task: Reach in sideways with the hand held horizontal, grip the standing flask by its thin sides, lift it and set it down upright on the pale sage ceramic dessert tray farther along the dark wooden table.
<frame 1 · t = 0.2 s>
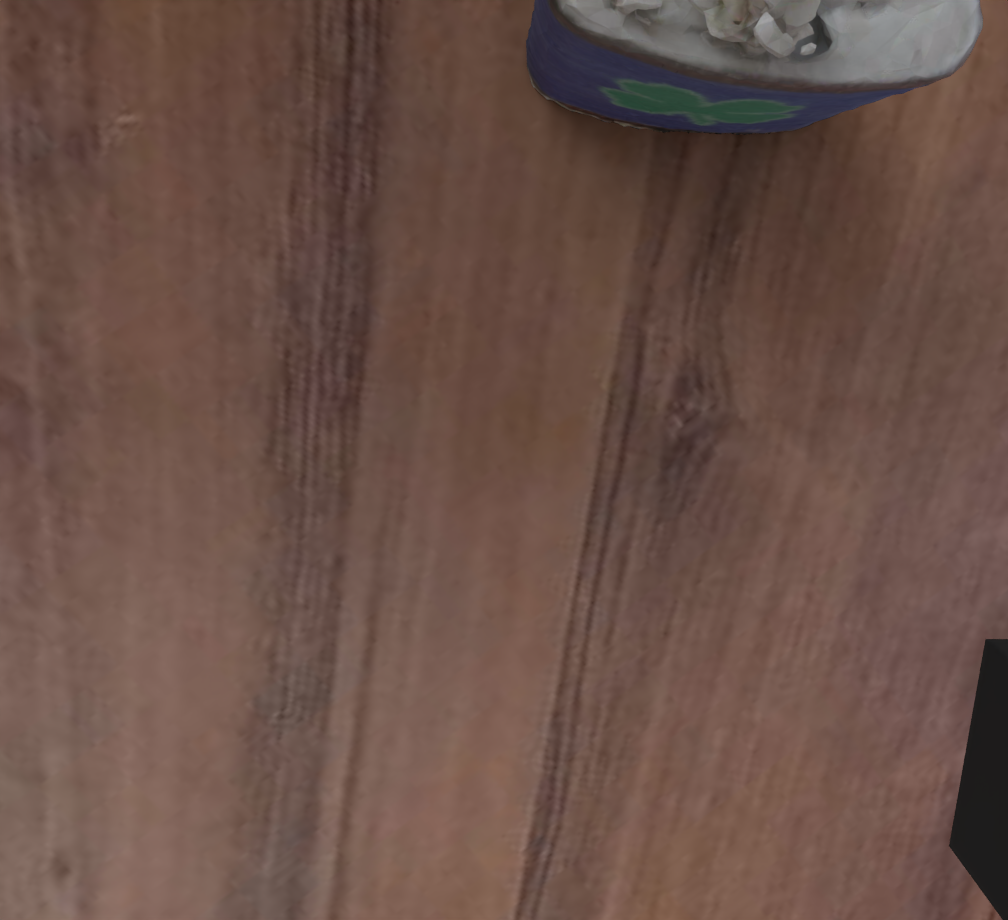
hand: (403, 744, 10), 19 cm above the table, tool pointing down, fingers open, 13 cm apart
flask: (673, 80, 26), on the table
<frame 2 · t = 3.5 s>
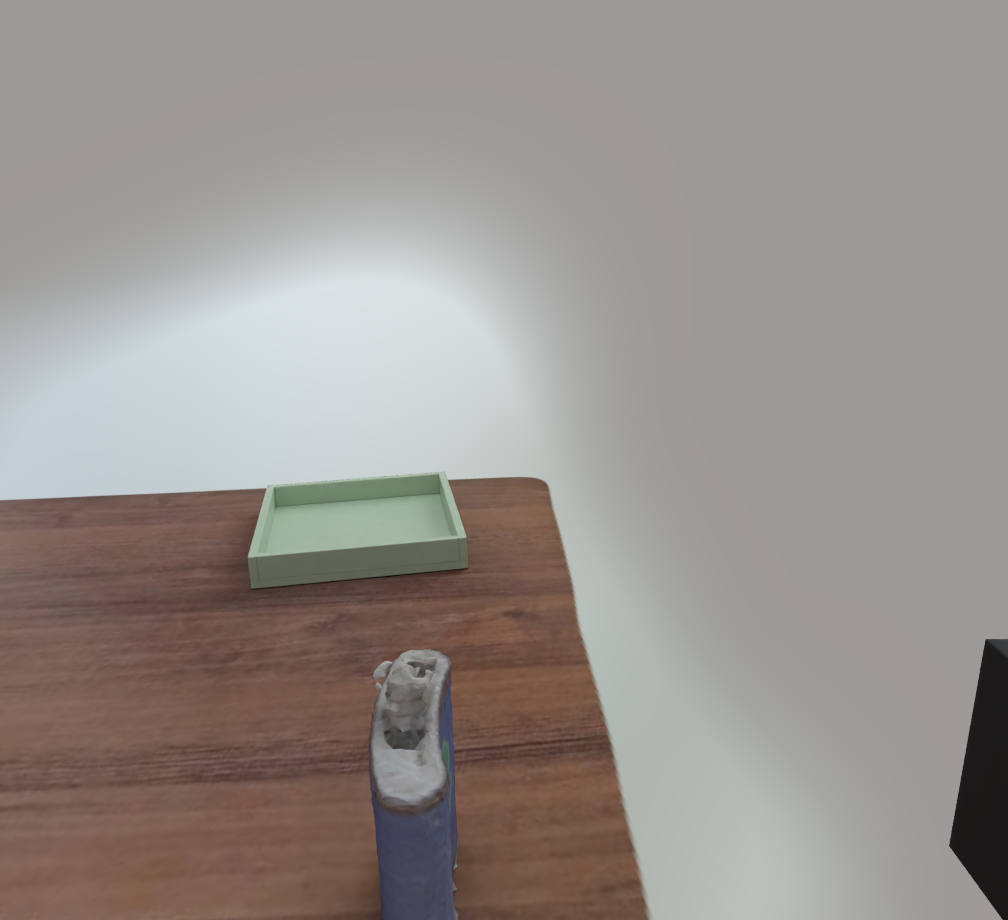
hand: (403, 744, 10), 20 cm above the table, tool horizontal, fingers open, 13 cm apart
flask: (424, 918, 33), on the table
dessert tray: (360, 537, 68), on the table
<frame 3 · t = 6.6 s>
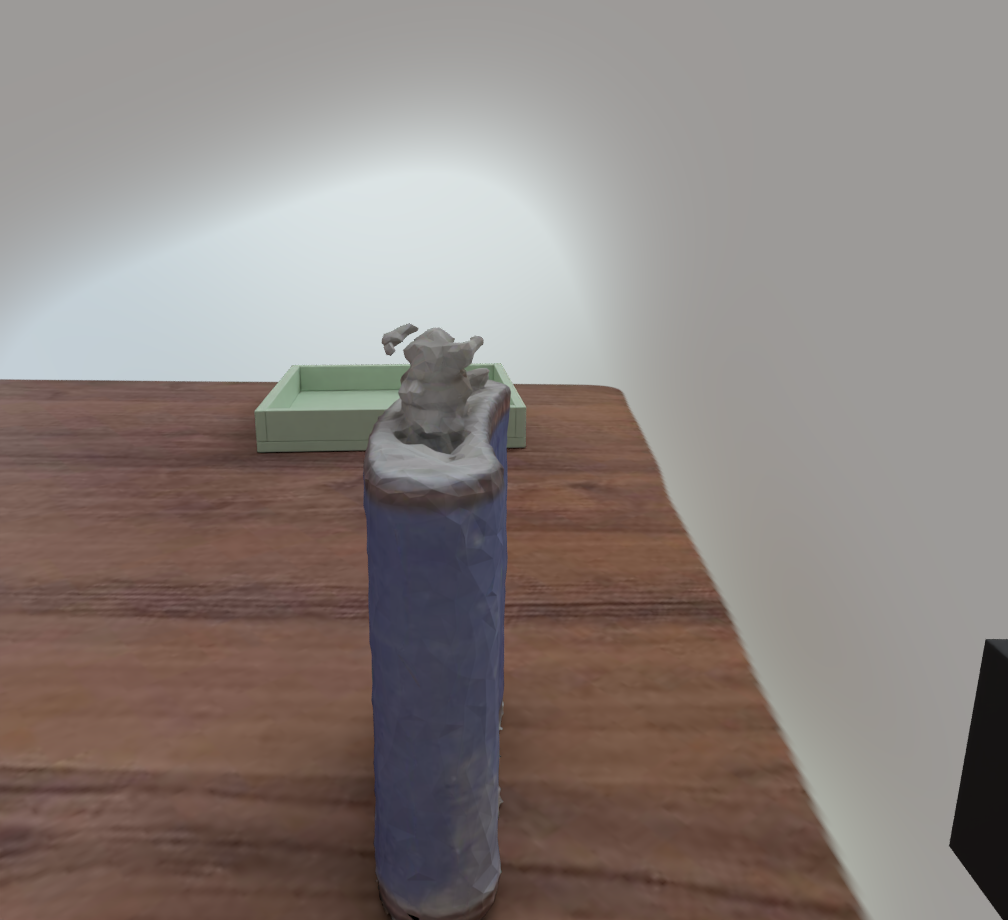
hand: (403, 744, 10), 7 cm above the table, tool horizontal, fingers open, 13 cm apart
flask: (446, 792, 20), on the table
dessert tray: (396, 419, 56), on the table
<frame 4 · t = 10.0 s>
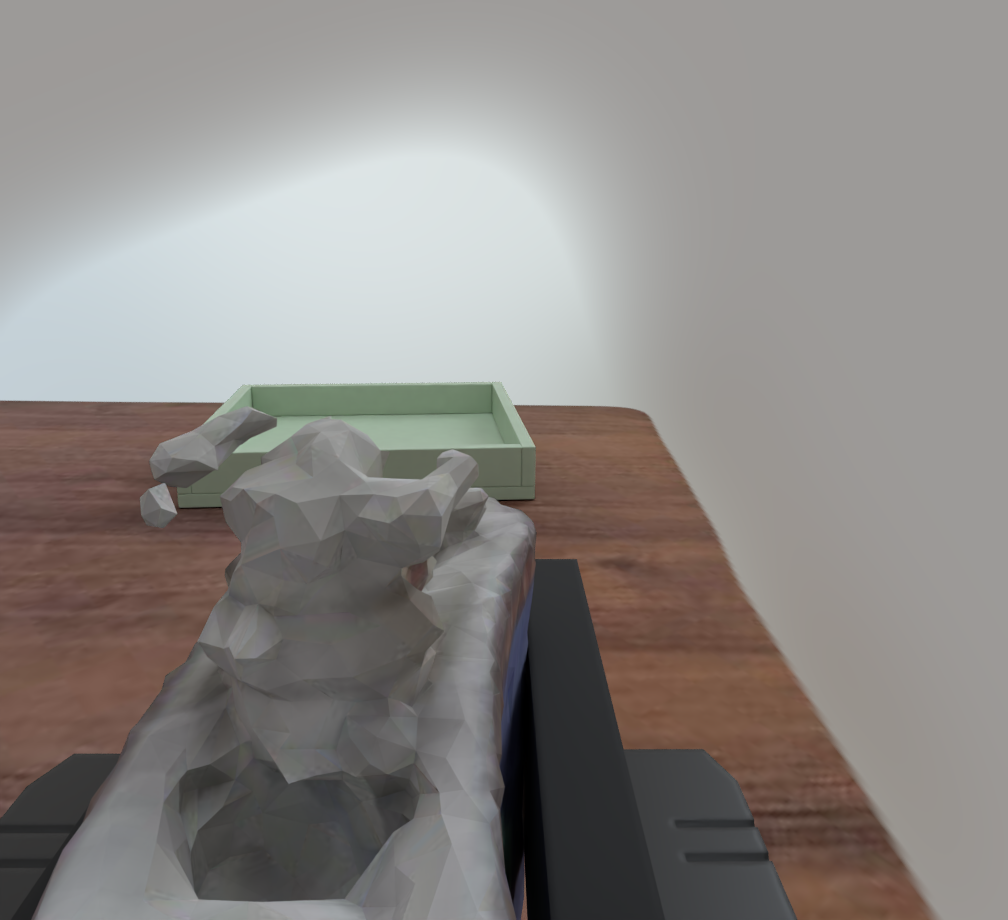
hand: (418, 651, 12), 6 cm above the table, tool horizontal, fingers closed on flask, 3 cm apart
dessert tray: (368, 456, 44), on the table
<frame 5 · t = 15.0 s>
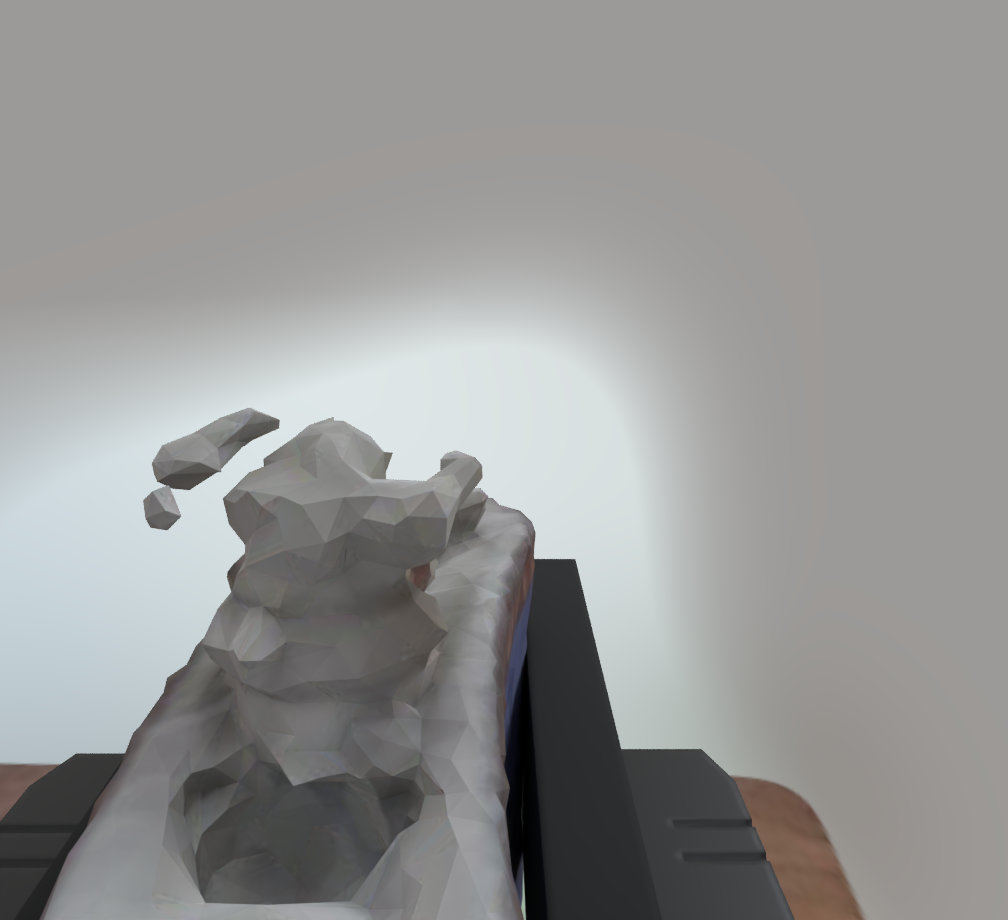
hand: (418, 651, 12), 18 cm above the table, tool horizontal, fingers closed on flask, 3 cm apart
when the fingers open (7 cm above the table, at t = 20.1 s): flask stays where it is, resting on dessert tray.
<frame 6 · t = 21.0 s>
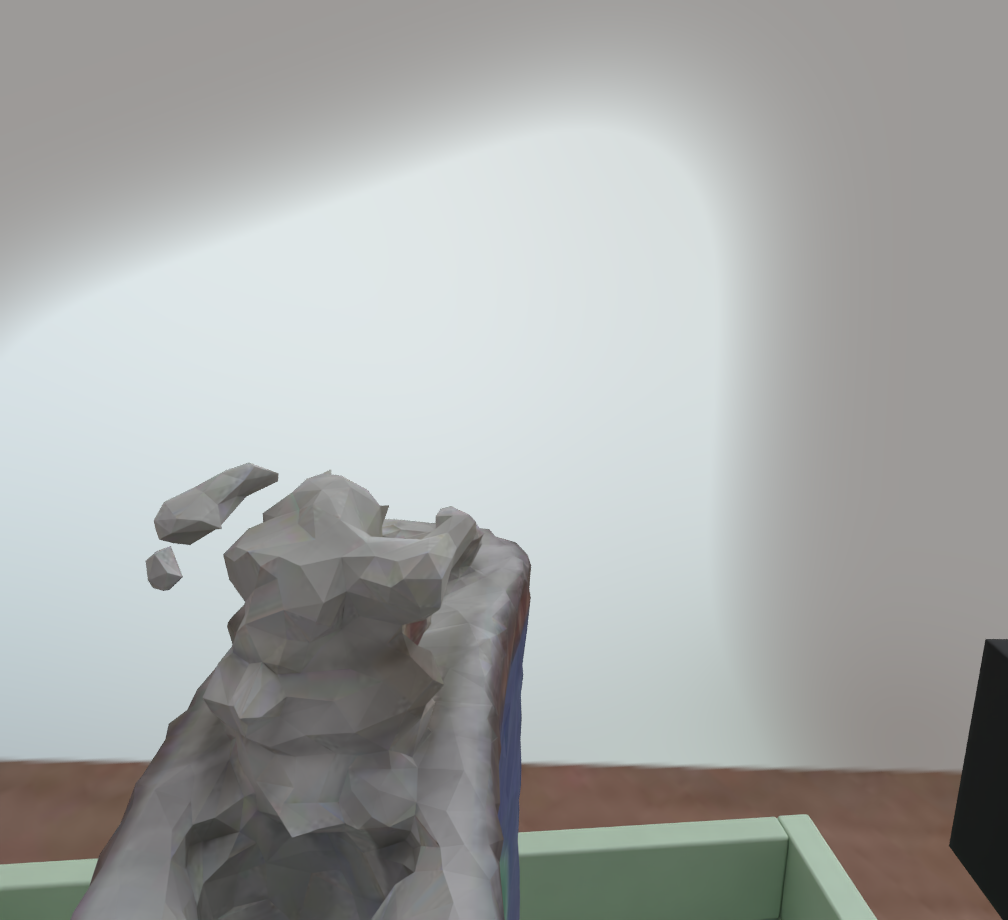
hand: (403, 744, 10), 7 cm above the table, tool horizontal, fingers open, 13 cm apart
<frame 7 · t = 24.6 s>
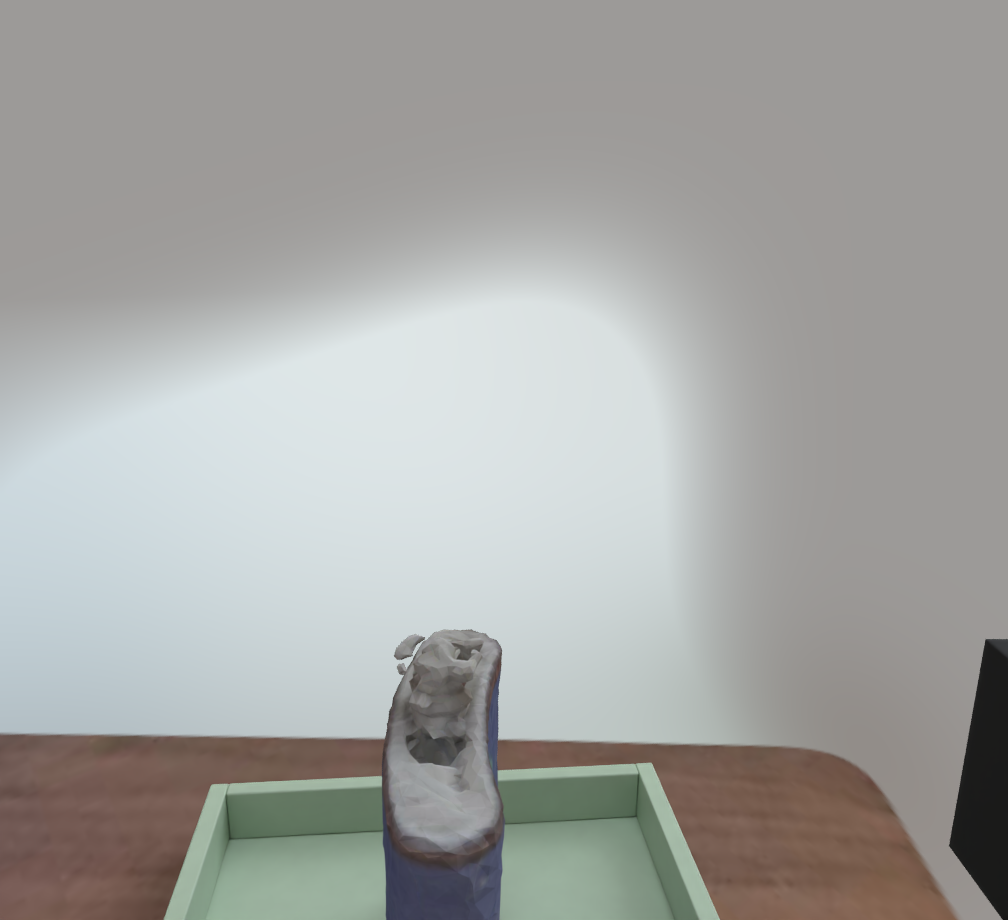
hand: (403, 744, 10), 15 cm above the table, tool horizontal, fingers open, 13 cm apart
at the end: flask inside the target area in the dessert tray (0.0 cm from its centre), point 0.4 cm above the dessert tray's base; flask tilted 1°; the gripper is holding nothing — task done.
